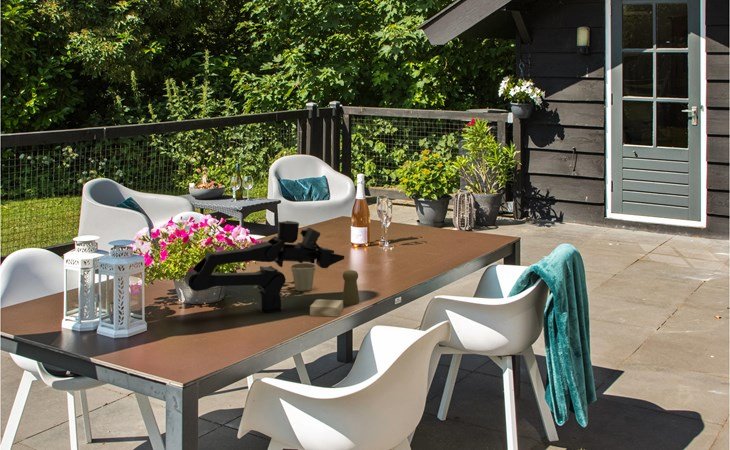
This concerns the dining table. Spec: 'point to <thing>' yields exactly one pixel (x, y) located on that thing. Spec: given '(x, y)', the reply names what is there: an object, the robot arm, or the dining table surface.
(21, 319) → the dining table surface
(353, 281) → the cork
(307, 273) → the flower pot
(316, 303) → the beige square block
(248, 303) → the dining table surface
